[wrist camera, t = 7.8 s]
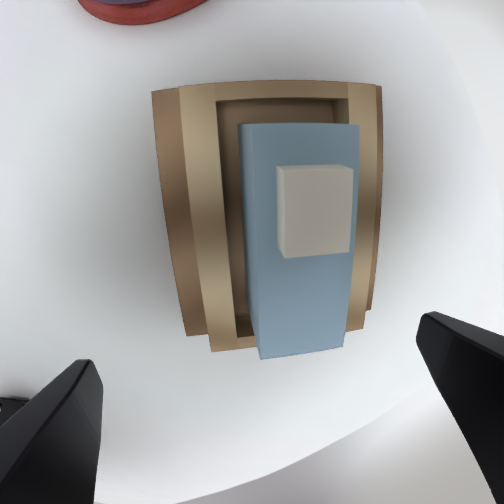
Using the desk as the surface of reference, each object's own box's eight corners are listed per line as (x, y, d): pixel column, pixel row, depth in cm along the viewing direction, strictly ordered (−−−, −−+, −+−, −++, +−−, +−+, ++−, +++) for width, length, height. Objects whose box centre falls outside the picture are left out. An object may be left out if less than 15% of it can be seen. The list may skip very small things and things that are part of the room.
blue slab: (312, 295, 19) (351, 362, 14) (246, 303, 19) (264, 377, 13) (316, 122, 15) (374, 126, 10) (237, 123, 15) (256, 124, 9)
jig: (361, 298, 22) (383, 326, 19) (187, 322, 21) (185, 357, 17) (368, 87, 16) (400, 83, 13) (155, 94, 15) (143, 87, 12)
